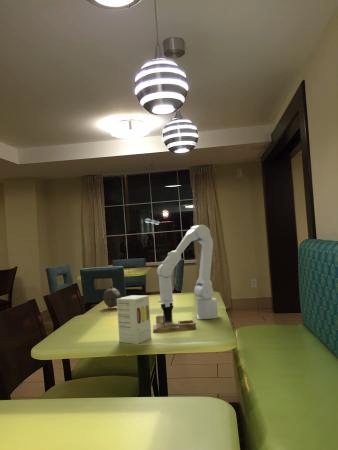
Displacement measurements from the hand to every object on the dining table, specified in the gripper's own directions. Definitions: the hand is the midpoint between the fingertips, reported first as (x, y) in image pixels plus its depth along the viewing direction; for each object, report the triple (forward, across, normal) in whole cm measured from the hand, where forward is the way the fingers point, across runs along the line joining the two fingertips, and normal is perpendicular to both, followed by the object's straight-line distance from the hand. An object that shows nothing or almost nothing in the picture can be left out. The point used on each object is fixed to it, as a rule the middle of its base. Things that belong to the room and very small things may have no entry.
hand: (168, 320), depth 166 cm
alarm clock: (+2, -50, -31) cm, 59 cm away
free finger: (+1, 0, 0) cm, 1 cm away
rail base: (+1, +11, +2) cm, 11 cm away
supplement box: (+2, +24, -14) cm, 28 cm away
